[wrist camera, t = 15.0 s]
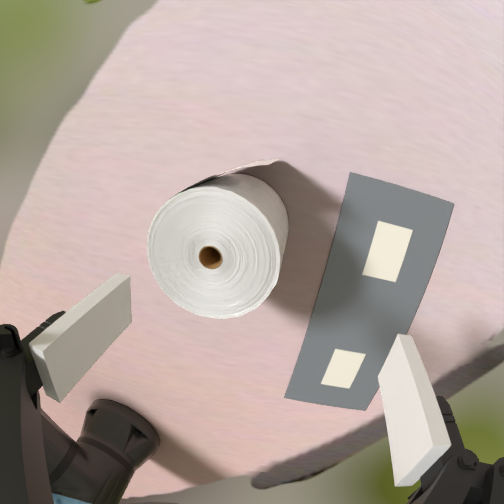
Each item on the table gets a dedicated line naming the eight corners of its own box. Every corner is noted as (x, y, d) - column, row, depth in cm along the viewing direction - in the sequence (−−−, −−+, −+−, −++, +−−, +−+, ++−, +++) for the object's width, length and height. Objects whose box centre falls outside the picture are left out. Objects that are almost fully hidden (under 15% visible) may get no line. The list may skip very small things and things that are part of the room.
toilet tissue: (194, 270, 35) (157, 314, 26) (183, 163, 32) (135, 174, 22) (289, 272, 34) (282, 322, 24) (287, 157, 30) (277, 164, 20)
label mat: (365, 410, 39) (365, 411, 38) (284, 397, 40) (284, 398, 40) (453, 203, 28) (454, 203, 28) (349, 172, 29) (350, 172, 29)
